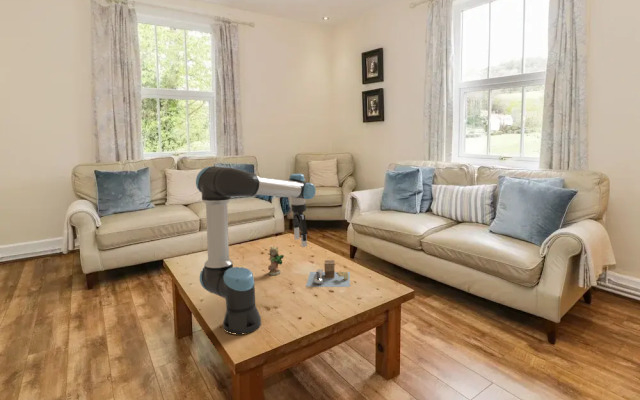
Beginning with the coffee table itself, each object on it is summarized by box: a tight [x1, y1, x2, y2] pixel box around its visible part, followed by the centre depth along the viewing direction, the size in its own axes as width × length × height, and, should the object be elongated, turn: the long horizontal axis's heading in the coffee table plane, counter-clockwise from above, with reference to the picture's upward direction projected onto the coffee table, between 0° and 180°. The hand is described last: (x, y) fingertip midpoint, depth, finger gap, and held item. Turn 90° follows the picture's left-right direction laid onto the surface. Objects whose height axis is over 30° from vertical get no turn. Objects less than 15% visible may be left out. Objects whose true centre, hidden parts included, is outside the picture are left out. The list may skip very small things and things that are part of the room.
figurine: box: [267, 246, 284, 276], centre depth 204 cm, size 9×8×15 cm
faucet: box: [314, 269, 324, 285], centre depth 194 cm, size 15×4×2 cm, turn 175°
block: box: [323, 259, 336, 278], centre depth 197 cm, size 5×5×8 cm
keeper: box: [336, 270, 348, 280], centre depth 192 cm, size 5×5×4 cm
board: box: [305, 271, 351, 288], centre depth 193 cm, size 19×22×7 cm
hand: (300, 242), depth 196 cm, fingers open, 13 cm apart
